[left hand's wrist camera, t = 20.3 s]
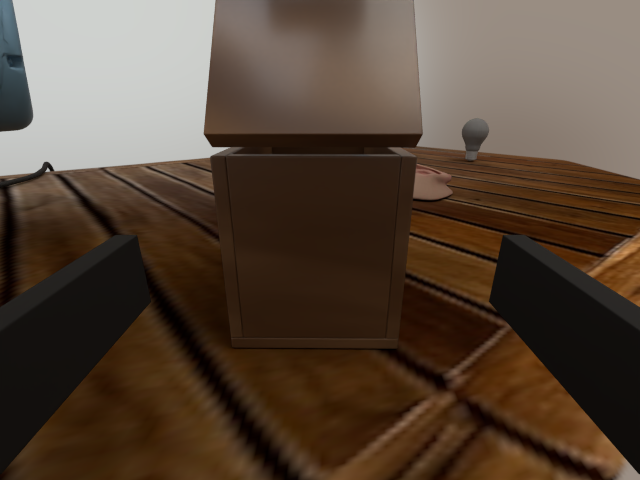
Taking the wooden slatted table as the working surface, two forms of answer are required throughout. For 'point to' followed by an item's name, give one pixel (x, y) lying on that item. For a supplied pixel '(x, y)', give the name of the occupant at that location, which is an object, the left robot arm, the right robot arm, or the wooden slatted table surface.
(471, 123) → the light bulb
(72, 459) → the wooden slatted table surface
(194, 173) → the wooden slatted table surface
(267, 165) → the chest
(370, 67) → the lid
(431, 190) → the anatomical model
